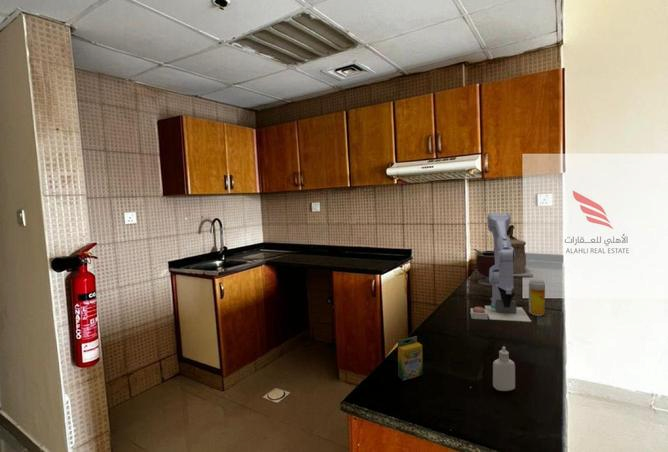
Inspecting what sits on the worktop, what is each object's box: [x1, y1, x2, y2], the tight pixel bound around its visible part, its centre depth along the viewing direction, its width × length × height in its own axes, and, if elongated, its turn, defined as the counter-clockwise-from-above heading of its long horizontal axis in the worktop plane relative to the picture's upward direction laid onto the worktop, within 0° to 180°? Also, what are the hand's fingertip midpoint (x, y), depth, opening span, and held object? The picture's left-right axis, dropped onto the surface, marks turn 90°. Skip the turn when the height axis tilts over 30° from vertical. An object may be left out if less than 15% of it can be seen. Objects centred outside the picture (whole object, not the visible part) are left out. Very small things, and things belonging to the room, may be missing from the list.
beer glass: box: [528, 278, 546, 317], centre depth 155 cm, size 6×6×15 cm
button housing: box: [470, 307, 489, 320], centre depth 155 cm, size 6×6×2 cm
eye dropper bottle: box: [492, 346, 516, 392], centre depth 99 cm, size 4×6×12 cm
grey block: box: [490, 299, 517, 314], centre depth 159 cm, size 4×10×5 cm, turn 73°
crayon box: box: [397, 335, 424, 381], centre depth 108 cm, size 7×3×12 cm, turn 114°
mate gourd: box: [473, 248, 495, 286], centre depth 209 cm, size 16×14×20 cm
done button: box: [474, 306, 484, 313], centre depth 155 cm, size 4×4×2 cm
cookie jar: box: [507, 224, 534, 278], centre depth 229 cm, size 25×25×32 cm
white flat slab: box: [484, 305, 532, 323], centre depth 158 cm, size 18×16×1 cm
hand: (505, 305), depth 158 cm, fingers open, 5 cm apart
